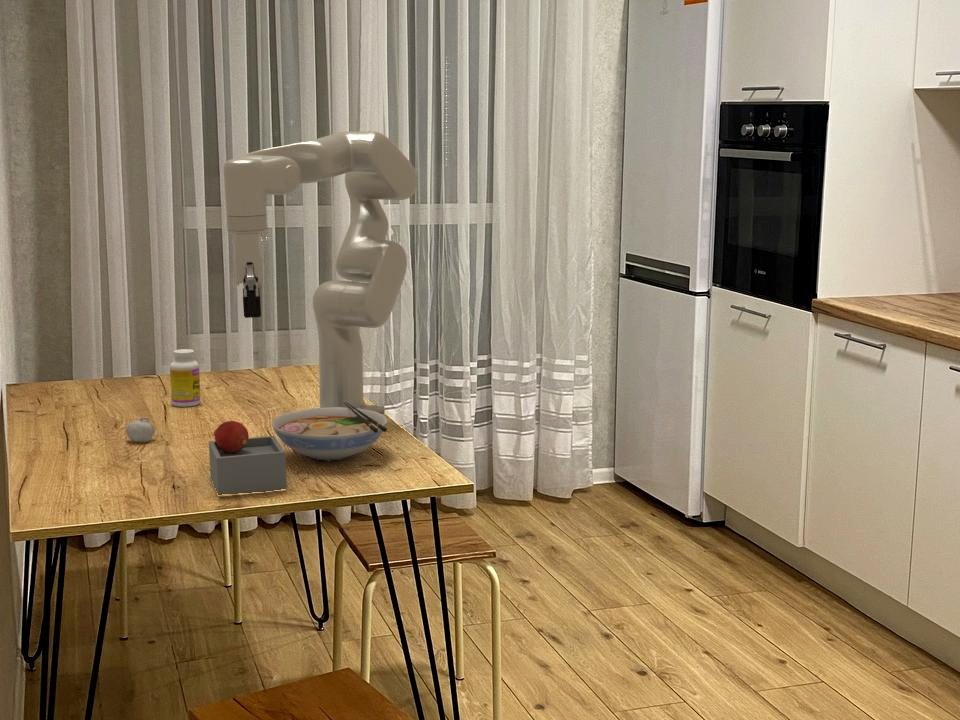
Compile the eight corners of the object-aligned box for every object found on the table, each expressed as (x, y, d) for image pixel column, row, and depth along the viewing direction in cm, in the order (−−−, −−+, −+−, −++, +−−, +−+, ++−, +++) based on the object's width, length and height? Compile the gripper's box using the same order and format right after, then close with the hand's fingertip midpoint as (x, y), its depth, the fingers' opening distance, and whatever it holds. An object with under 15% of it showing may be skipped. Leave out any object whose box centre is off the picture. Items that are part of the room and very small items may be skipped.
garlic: (161, 439, 235) (160, 415, 234) (147, 445, 230) (145, 421, 229) (135, 437, 237) (134, 412, 236) (121, 443, 231) (119, 419, 230)
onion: (260, 446, 206) (229, 436, 210) (254, 420, 203) (222, 410, 207) (238, 463, 202) (207, 452, 206) (231, 436, 199) (200, 426, 203)
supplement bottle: (196, 407, 262) (193, 353, 259) (168, 407, 262) (165, 353, 260) (203, 401, 268) (201, 348, 266) (176, 400, 269) (173, 348, 266)
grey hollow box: (275, 474, 212) (274, 435, 211) (286, 492, 201) (285, 452, 200) (210, 480, 208) (208, 441, 207) (218, 499, 197) (216, 458, 196)
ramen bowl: (261, 445, 230) (260, 406, 229) (370, 436, 238) (369, 398, 237) (285, 480, 207) (284, 437, 206) (404, 468, 215) (403, 426, 214)
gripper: (227, 220, 222) (233, 305, 226) (226, 230, 205) (232, 322, 209) (266, 219, 223) (270, 304, 227) (268, 228, 207) (273, 319, 211)
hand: (252, 312), depth 218 cm, fingers open, 9 cm apart
